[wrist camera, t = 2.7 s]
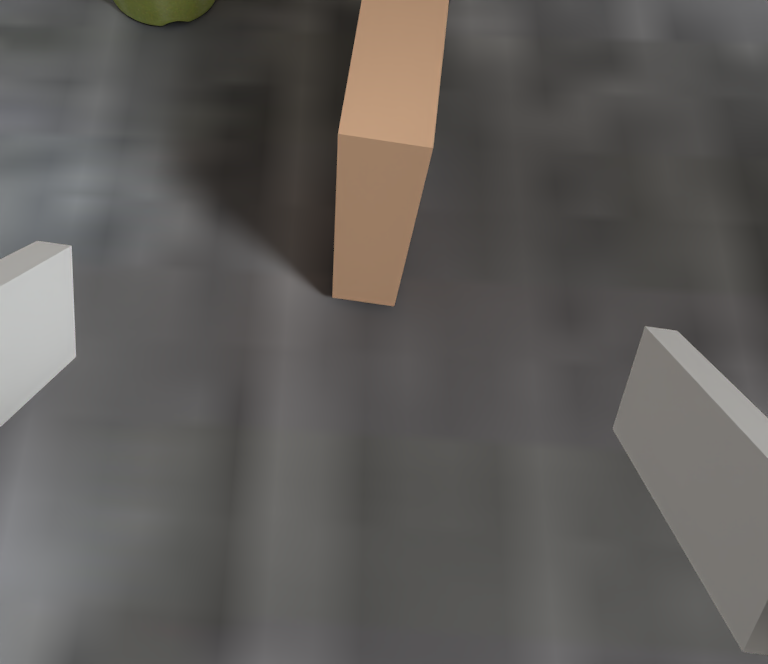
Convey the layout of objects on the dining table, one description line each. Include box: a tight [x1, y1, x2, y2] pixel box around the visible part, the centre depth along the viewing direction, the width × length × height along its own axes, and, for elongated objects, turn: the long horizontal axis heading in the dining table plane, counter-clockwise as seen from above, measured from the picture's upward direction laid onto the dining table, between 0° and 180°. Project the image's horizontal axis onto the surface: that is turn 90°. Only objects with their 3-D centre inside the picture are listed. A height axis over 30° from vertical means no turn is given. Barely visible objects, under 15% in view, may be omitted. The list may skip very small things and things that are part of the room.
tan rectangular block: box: [332, 0, 449, 306], centre depth 27 cm, size 3×7×12 cm, turn 173°
